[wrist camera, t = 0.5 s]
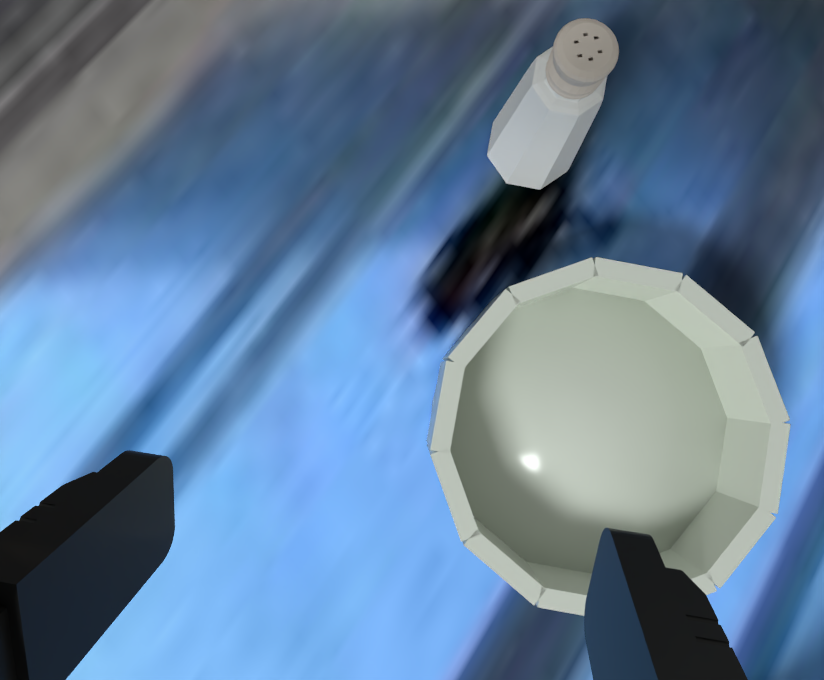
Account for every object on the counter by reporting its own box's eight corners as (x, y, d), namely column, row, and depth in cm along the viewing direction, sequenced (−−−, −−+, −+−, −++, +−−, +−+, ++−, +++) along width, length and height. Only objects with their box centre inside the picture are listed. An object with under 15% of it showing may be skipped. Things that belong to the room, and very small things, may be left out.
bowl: (388, 336, 35) (386, 329, 30) (667, 237, 35) (711, 215, 30) (491, 626, 34) (506, 670, 29) (774, 520, 34) (838, 544, 29)
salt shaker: (477, 113, 36) (511, -3, 25) (562, 96, 36) (635, -26, 25) (496, 199, 35) (540, 120, 24) (582, 181, 35) (664, 95, 24)
